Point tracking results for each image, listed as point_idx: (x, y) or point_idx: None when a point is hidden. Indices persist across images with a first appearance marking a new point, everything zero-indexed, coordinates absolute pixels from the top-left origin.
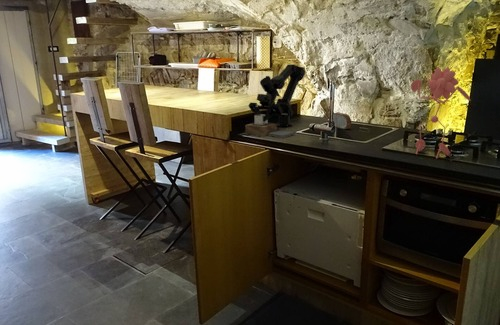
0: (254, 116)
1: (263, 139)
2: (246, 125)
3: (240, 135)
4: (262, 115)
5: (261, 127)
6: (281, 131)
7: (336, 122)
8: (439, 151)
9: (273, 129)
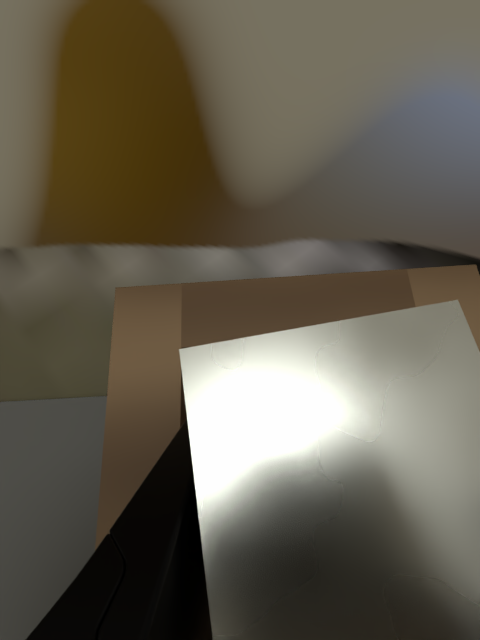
0: (443, 311)
1: (77, 254)
2: (447, 268)
3: (403, 246)
4: (257, 441)
5: (140, 287)
6: (8, 634)
7: None
8: None
9: None
